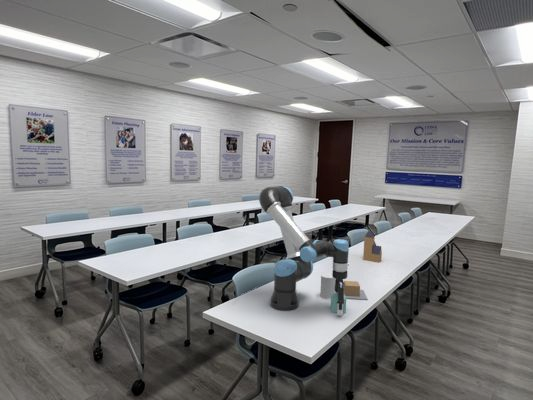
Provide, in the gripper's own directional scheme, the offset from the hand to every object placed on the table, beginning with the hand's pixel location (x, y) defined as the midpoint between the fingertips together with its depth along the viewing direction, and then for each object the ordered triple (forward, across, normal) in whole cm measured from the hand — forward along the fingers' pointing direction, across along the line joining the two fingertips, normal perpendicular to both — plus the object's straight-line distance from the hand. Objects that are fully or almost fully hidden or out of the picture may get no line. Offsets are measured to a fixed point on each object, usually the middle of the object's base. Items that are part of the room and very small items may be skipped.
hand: (338, 309), depth 177 cm
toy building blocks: (0, +101, -39) cm, 109 cm away
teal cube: (0, 0, 0) cm, 0 cm away
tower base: (0, +22, -10) cm, 24 cm away
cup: (0, +18, +4) cm, 19 cm away
